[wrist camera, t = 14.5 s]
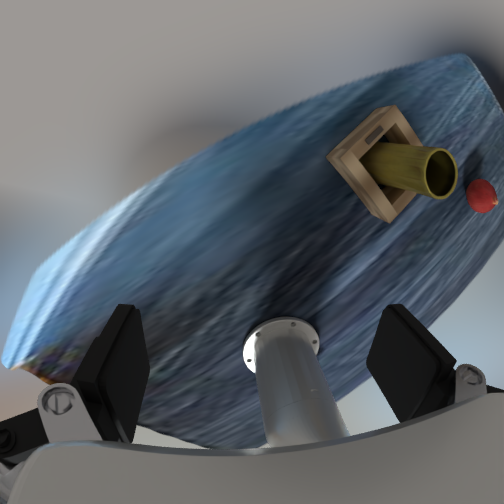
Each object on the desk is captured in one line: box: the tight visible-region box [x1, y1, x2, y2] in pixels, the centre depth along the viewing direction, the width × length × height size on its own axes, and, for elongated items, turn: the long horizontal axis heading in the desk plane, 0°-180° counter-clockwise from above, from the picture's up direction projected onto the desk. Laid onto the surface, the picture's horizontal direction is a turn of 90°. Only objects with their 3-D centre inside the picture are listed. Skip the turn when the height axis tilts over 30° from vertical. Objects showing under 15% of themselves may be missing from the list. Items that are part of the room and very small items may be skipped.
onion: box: [466, 179, 498, 213], centre depth 35 cm, size 6×6×8 cm
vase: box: [359, 141, 458, 199], centre depth 29 cm, size 6×6×14 cm
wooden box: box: [326, 105, 423, 223], centre depth 33 cm, size 11×11×5 cm
